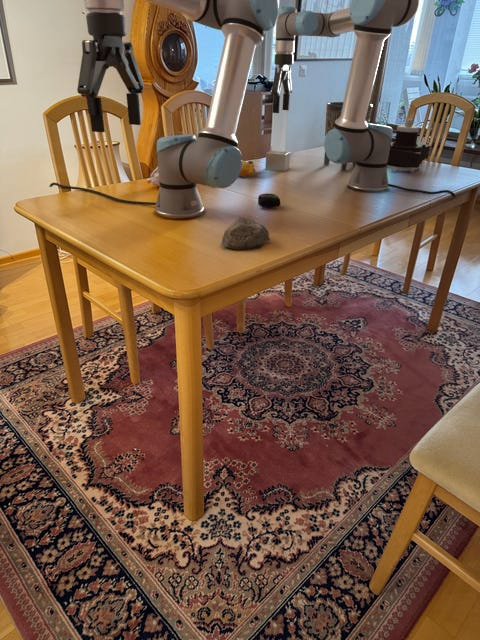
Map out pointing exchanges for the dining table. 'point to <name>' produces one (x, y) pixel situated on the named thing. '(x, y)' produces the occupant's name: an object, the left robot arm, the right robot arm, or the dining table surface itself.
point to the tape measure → (269, 200)
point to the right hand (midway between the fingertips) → (280, 111)
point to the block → (277, 160)
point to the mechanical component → (407, 149)
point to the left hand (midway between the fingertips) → (117, 128)
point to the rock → (245, 234)
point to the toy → (247, 168)
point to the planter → (331, 116)
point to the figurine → (154, 177)
